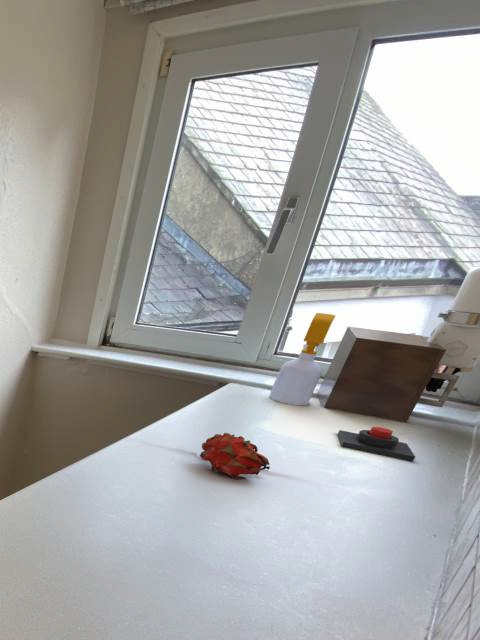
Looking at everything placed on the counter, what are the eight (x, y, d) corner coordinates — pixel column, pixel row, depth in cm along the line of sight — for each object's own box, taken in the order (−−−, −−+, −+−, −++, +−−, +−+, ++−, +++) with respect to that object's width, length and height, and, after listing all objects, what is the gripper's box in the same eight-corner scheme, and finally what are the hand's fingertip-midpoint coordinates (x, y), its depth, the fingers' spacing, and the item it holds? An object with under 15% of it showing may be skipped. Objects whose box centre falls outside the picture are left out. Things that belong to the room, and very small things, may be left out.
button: (387, 436, 123) (391, 429, 122) (390, 441, 120) (394, 433, 119) (367, 432, 124) (370, 425, 124) (369, 436, 122) (373, 429, 121)
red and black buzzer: (401, 452, 124) (411, 435, 123) (410, 466, 117) (420, 449, 115) (335, 438, 130) (342, 422, 129) (339, 450, 123) (347, 434, 121)
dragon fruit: (189, 466, 114) (250, 496, 107) (187, 453, 108) (252, 484, 100) (215, 433, 114) (278, 461, 106) (215, 418, 107) (282, 446, 100)
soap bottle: (308, 404, 155) (348, 315, 144) (304, 410, 149) (346, 318, 138) (270, 396, 161) (306, 310, 150) (265, 402, 155) (302, 313, 144)
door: (415, 410, 155) (454, 340, 146) (431, 430, 139) (475, 353, 130) (387, 405, 158) (423, 336, 149) (399, 424, 142) (440, 349, 133)
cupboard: (386, 405, 158) (422, 335, 149) (399, 425, 142) (441, 348, 133) (317, 393, 166) (347, 326, 157) (322, 410, 150) (356, 337, 141)
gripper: (428, 317, 137) (394, 388, 145) (515, 325, 129) (474, 399, 137) (422, 314, 143) (390, 382, 151) (505, 321, 135) (466, 393, 143)
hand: (430, 390), depth 144 cm, fingers closed
